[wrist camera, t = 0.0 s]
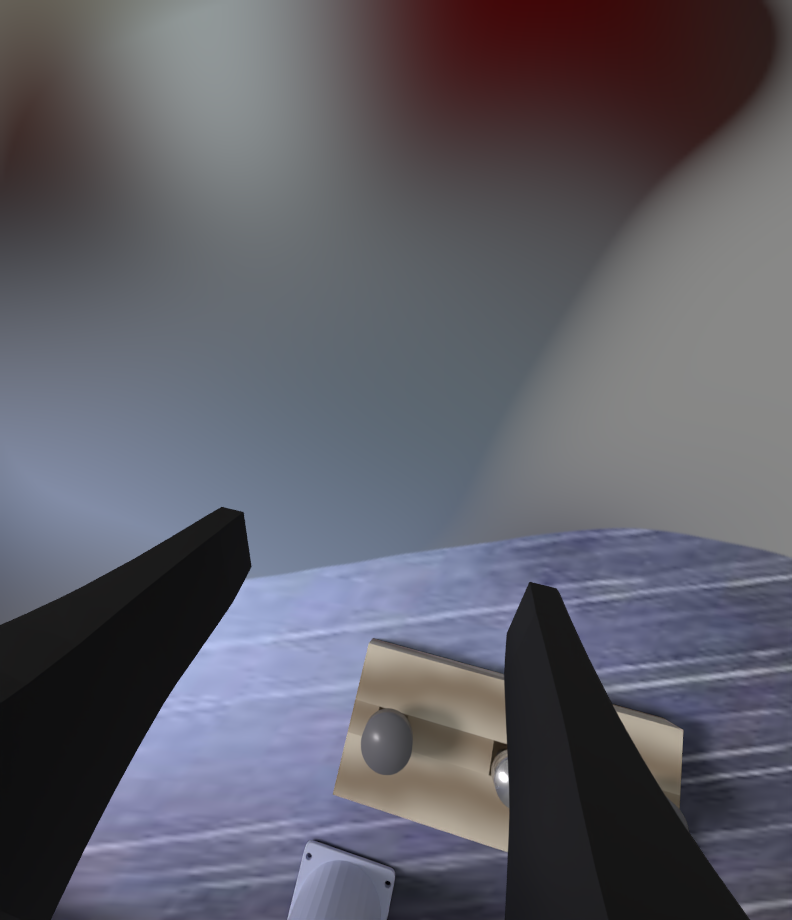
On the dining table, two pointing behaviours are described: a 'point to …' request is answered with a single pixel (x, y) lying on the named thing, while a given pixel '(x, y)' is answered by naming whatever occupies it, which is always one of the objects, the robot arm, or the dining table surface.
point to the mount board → (460, 743)
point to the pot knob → (501, 776)
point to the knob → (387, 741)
